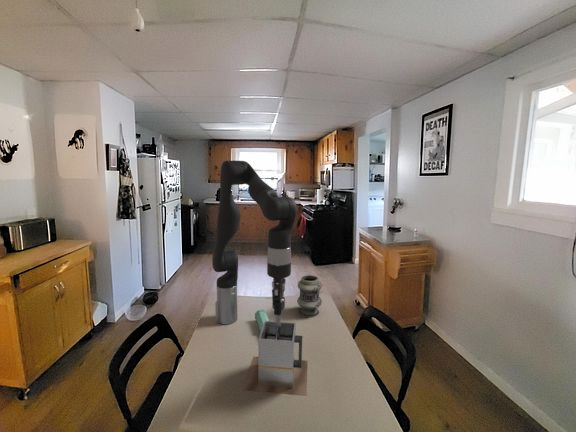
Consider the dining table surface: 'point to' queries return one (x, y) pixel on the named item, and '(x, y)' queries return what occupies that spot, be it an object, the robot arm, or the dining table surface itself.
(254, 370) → the walnut board
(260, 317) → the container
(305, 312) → the apothecary jar
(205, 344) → the dining table surface
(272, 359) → the square mug
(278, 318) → the plunger
